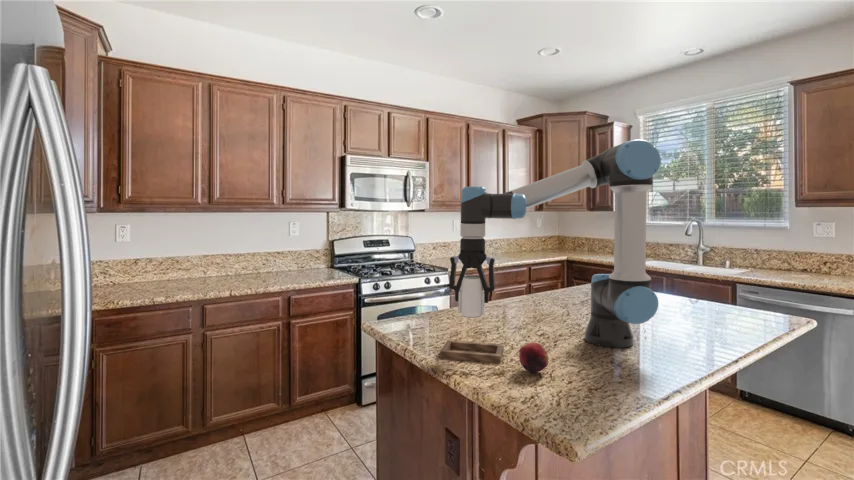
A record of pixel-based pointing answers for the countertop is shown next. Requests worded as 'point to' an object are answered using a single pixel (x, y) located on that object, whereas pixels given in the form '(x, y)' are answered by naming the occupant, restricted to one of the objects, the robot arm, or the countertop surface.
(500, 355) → the socket
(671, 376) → the countertop surface
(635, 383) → the countertop surface
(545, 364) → the fruit
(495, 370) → the countertop surface
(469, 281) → the can
